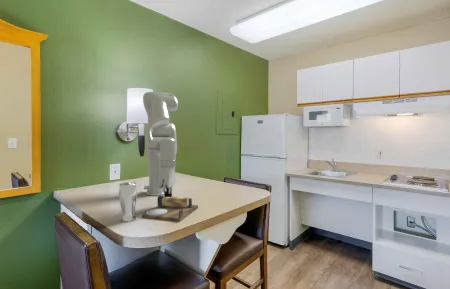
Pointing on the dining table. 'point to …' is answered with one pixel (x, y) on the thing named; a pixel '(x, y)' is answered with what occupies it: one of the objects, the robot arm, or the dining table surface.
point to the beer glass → (128, 200)
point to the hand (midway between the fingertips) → (168, 201)
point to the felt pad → (156, 212)
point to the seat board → (174, 212)
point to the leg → (172, 201)
